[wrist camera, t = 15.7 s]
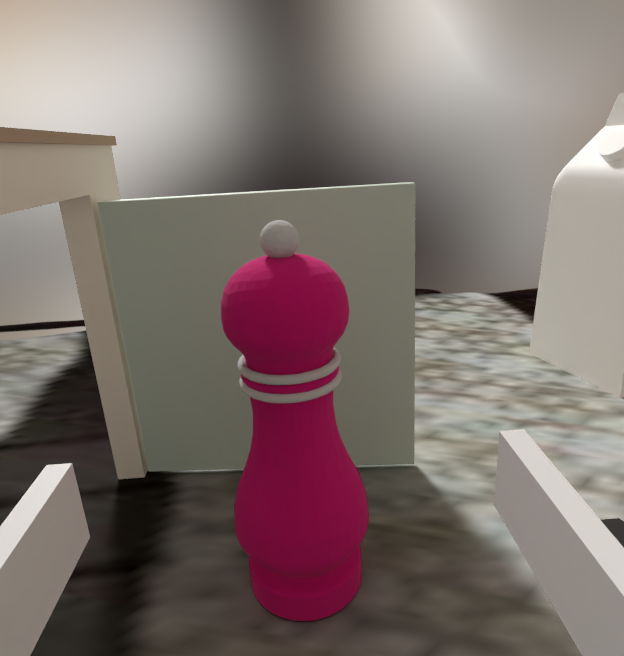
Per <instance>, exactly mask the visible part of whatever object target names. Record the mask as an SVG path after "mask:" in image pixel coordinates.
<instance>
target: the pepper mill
mask: <svg viewBox="0 0 624 656" xmlns="http://www.w3.org/2000/svg"><path fill="white" fill-rule="evenodd" d="M298 245H299V235H298V232H297V230H296V229H295V228H294V226H293V225H292V224H290V223H289V222H287V221H284V220H276V221H272V222H270V223H268V224H267V225H266V226H265V227H264V228H263V229H262V232H261V234H260V246H261V248H262V250H263V251H264V253H265V254H266V256H262V257H259V258H257V259H254V260H251V261H250V262H248V263H246V264H244V265H243V266H242V267H240V268H239V269H238V270H237V271H236V272H235V273H234V274H233V275H232V276H231V277H230V279H229V281H228V282H227V284H226V286H225V288H224V291H223V296H222V300H221V321H222V326H223V331H224V333H225V335H226V337H227V338H228V339H229V341H230V342H231V343H232V345H233V346H234V347H236V348H237V349H238V350H239V351H240V352H241V353H242V354H243V355H242V356H241V357H240V358H239V360H238V365H237V367H238V370H239V372H240V374H241V377H240V381H239V383H240V387H241V389H242V391H243V392H244V393H245V394H246V395H248V396H250V400H251V406H252V411H253V434H252V441H251V448H250V452H249V455H248V459H247V462H246V465H245V468H244V470H243V473H242V476H241V478H240V481H239V484H238V488H237V493H236V499H235V505H234V511H235V530H236V534H237V538H238V541H239V543H240V545H241V547H242V548H243V549H244V551H245V552H246V553H247V554H248V555H249V566H250V574H251V582H252V589H253V592H254V594H255V596H256V598H257V600H258V601H259V602H260V603H261V605H262V606H263V607H264V608H266V609H267V610H268V611H270V612H271V613H273V614H274V615H277V616H279V617H282V618H285V619H288V620H292V621H313V620H318V619H322V618H326V617H328V616H330V615H332V614H334V613H336V612H339V611H340V610H341V609H343V608H344V607H345V606H346V605H347V604H348V603H349V602H350V601H351V600H352V599H353V598H354V596H355V594H356V593H357V591H358V590H359V587H360V584H361V580H362V563H361V548H360V543H361V542H362V540H363V538H364V536H365V534H366V532H367V528H368V521H369V512H368V504H367V496H366V491H365V488H364V486H363V483H362V480H361V477H360V474H359V472H358V470H357V468H356V467H355V465H354V463H353V461H352V460H351V458H350V456H349V454H348V452H347V450H346V448H345V446H344V444H343V442H342V439H341V436H340V433H339V430H338V427H337V424H336V418H335V412H334V405H333V391H334V389H335V388H336V387H337V386H338V385H339V383H340V381H341V379H342V373H341V370H340V368H339V364H340V362H341V355H340V353H339V351H338V350H337V349H336V348H334V345H335V344H336V343H337V342H338V340H339V339H340V338H341V337H342V335H343V333H344V332H345V329H346V326H347V324H348V320H349V302H348V296H347V293H346V289H345V286H344V284H343V282H342V280H341V279H340V277H339V276H338V274H337V273H336V272H335V271H334V270H333V269H332V268H331V267H330V266H329V265H328V264H326V263H325V262H323V261H321V260H319V259H316V258H314V257H312V256H308V255H304V254H297V253H295V252H296V250H297V248H298Z"/></svg>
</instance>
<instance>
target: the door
mask: <svg viewBox="0 0 624 656" xmlns="http://www.w3.org/2000/svg"><path fill="white" fill-rule="evenodd" d="M97 203H98V208H99V214H100V219H101V224H102V229H103V235H104V240H105V245H106V250H107V256H108V261H109V266H110V271H111V277H112V282H113V287H114V292H115V297H116V303H117V308H118V313H119V318H120V324H121V329H122V334H123V339H124V345H125V350H126V355H127V360H128V366H129V371H130V376H131V381H132V387H133V392H134V397H135V402H136V408H137V413H138V418H139V423H140V429H141V434H142V439H143V444H144V450H145V455H146V460H147V465H148V471H149V472H150V471H185V470H219V469H244V468H245V465H246V462H247V459H248V455H249V452H250V448H251V441H252V434H253V411H252V406H251V400H250V396H248V395H246V394H245V393H244V392H243V391H242V389H241V387H240V383H239V381H240V377H241V374H240V372H239V370H238V367H237V365H238V360H239V358H240V357H241V356H242V355H243V354H242V353H241V352H240V351H239V350H238V349H237V348H236V347H234V346H233V345H232V343H231V342H230V341H229V339H228V338H227V337H226V335H225V333H224V331H223V326H222V321H221V300H222V296H223V291H224V288H225V286H226V284H227V282H228V281H229V279H230V277H231V276H232V275H233V274H234V273H235V272H236V271H237V270H238V269H239V268H240V267H242V266H243V265H244V264H246V263H248V262H250V261H251V260H254V259H257V258H259V257H262V256H266V254H265V253H264V251H263V250H262V248H261V246H260V234H261V232H262V229H263V228H264V227H265V226H266V225H267V224H268V223H270V222H272V221H276V220H284V221H287V222H289V223H290V224H292V225H293V226H294V228H295V229H296V230H297V232H298V235H299V245H298V248H297V250H296V252H295V253H297V254H304V255H308V256H312V257H314V258H316V259H319V260H321V261H323V262H325V263H326V264H328V265H329V266H330V267H331V268H332V269H333V270H334V271H335V272H336V273H337V274H338V276H339V277H340V279H341V280H342V282H343V284H344V286H345V289H346V293H347V296H348V302H349V320H348V324H347V326H346V329H345V332H344V333H343V335H342V337H341V338H340V339H339V340H338V342H337V343H336V344H335V345H334V348H336V349H337V350H338V351H339V353H340V355H341V362H340V364H339V368H340V370H341V373H342V379H341V381H340V383H339V385H338V386H337V387H336V388H335V389H334V391H333V405H334V412H335V418H336V424H337V427H338V430H339V433H340V436H341V439H342V442H343V444H344V446H345V448H346V450H347V452H348V454H349V456H350V458H351V460H352V461H353V463H354V465H355V466H359V465H393V464H414V393H415V183H413V182H406V183H389V184H373V185H356V186H339V187H324V188H307V189H290V190H274V191H258V192H242V193H241V192H240V193H224V194H207V195H191V196H174V197H158V198H142V199H124V200H107V201H102V202H97Z"/></svg>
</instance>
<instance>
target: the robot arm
mask: <svg viewBox="0 0 624 656" xmlns="http://www.w3.org/2000/svg"><path fill="white" fill-rule="evenodd" d="M494 505H495V507H496V509H497V511H498V512H499V514H500V516H501V518H502V519H503V521H504V523H505V524H506V526H507V528H508V530H509V531H510V533H511V535H512V536H513V538H514V540H515V542H516V543H517V545H518V547H519V548H520V550H521V552H522V554H523V555H524V557H525V559H526V560H527V562H528V564H529V566H530V567H531V569H532V571H533V572H534V574H535V576H536V578H537V579H538V581H539V583H540V584H541V586H542V588H543V590H544V591H545V593H546V595H547V596H548V598H549V600H550V602H551V603H552V605H553V607H554V608H555V610H556V612H557V614H558V615H559V617H560V619H561V620H562V622H563V624H564V626H565V627H566V629H567V631H568V632H569V634H570V636H571V638H572V639H573V641H574V643H575V644H576V646H577V648H578V650H579V651H580V653H581V655H582V656H624V521H622V520H621V519H619V518H617V519H605V520H600V519H599V518H598V517H597V515H596V514H595V513H594V512H593V511H592V509H591V508H590V507H589V506H588V505H587V504H586V502H585V501H584V500H583V499H582V498H581V496H580V495H579V494H578V493H577V492H576V491H575V489H574V488H573V487H572V486H571V485H570V483H569V482H568V481H567V480H566V479H565V477H564V476H563V475H562V474H561V473H560V472H559V470H558V469H557V468H556V467H555V466H554V464H553V463H552V462H551V461H550V460H549V459H548V457H547V456H546V455H545V454H544V453H543V451H542V450H541V449H540V448H539V447H538V446H537V444H536V443H535V442H534V441H533V440H532V438H531V437H530V436H529V435H528V434H527V433H526V431H525V430H524V429H521V430H508V431H499V444H498V458H497V473H496V487H495V501H494ZM89 538H90V535H89V531H88V527H87V523H86V518H85V514H84V510H83V506H82V502H81V498H80V494H79V490H78V486H77V481H76V477H75V473H74V469H73V465H72V463H69V464H56V465H46V467H45V468H44V469H43V471H42V472H41V473H40V475H39V476H38V477H37V479H36V480H35V481H34V483H33V484H32V485H31V486H30V488H29V489H28V490H27V492H26V493H25V494H24V496H23V497H22V498H21V500H20V501H19V502H18V504H17V505H16V506H15V508H14V509H13V510H12V512H11V513H10V514H9V516H8V517H7V518H6V520H5V521H4V522H3V524H2V525H1V526H0V656H30V655H31V653H32V651H33V649H34V647H35V645H36V643H37V641H38V639H39V637H40V635H41V633H42V631H43V629H44V627H45V625H46V623H47V621H48V619H49V617H50V615H51V613H52V611H53V609H54V607H55V605H56V603H57V601H58V599H59V597H60V595H61V593H62V591H63V589H64V587H65V585H66V583H67V582H68V580H69V578H70V576H71V574H72V572H73V570H74V568H75V566H76V564H77V562H78V560H79V558H80V556H81V554H82V552H83V550H84V548H85V546H86V544H87V542H88V540H89Z"/></svg>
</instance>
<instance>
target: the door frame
mask: <svg viewBox="0 0 624 656" xmlns="http://www.w3.org/2000/svg"><path fill="white" fill-rule="evenodd" d="M112 145H116V139H115V136H103V135H91V134H79V133H78V134H77V133H66V132H54V131H42V130H29V129H16V128H5V127H0V215H2V214H6V213H11V212H15V211H19V210H24V209H28V208H33V207H37V206H42V205H46V204H51V203H55V202H59V205H60V209H61V214H62V219H63V224H64V228H65V233H66V238H67V242H68V247H69V251H70V256H71V261H72V265H73V270H74V275H75V279H76V284H77V288H78V294H79V298H80V303H81V308H82V312H83V317H84V322H85V326H86V331H87V336H88V340H89V345H90V350H91V354H92V359H93V364H94V368H95V373H96V378H97V382H98V387H99V392H100V396H101V401H102V406H103V410H104V415H105V420H106V424H107V429H108V434H109V438H110V443H111V448H112V452H113V457H114V462H115V466H116V471H117V476H118V479H129V478H142V477H145V475H146V473H147V471H148V465H147V460H146V455H145V450H144V444H143V439H142V434H141V429H140V423H139V418H138V413H137V408H136V402H135V397H134V392H133V387H132V381H131V376H130V371H129V366H128V360H127V355H126V350H125V345H124V339H123V334H122V329H121V324H120V318H119V313H118V308H117V303H116V297H115V292H114V287H113V282H112V277H111V271H110V266H109V261H108V256H107V250H106V245H105V240H104V235H103V229H102V224H101V219H100V214H99V208H98V203H97V202H102V201H107V200H121V199H120V194H119V188H118V182H117V176H116V171H115V165H114V159H113V154H112V148H111V146H112Z"/></svg>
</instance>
